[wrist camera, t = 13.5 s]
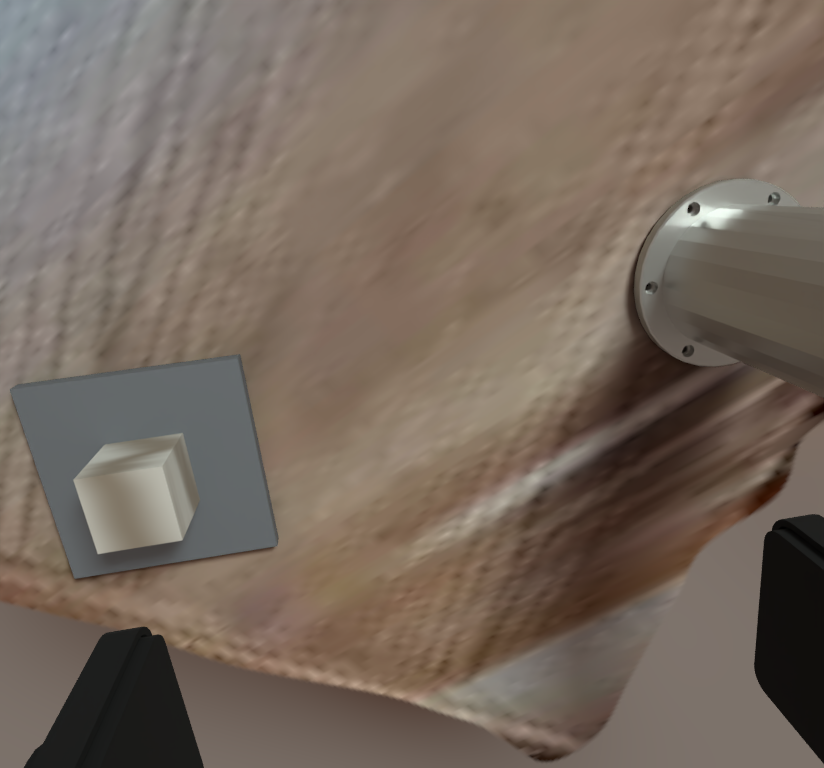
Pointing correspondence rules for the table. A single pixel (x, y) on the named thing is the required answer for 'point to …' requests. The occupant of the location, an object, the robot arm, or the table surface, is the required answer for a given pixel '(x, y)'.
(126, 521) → the cream cube
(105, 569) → the slate board
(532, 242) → the table surface
